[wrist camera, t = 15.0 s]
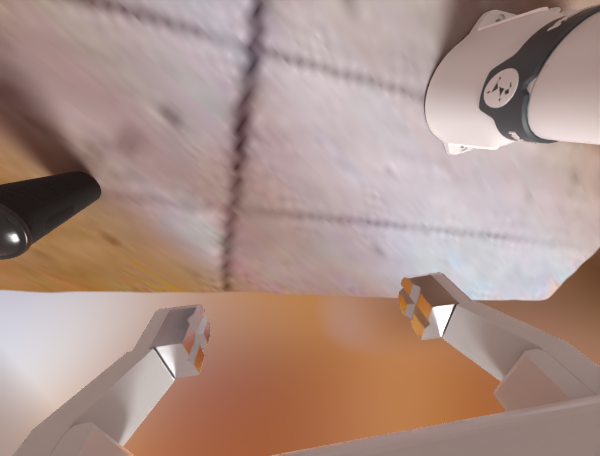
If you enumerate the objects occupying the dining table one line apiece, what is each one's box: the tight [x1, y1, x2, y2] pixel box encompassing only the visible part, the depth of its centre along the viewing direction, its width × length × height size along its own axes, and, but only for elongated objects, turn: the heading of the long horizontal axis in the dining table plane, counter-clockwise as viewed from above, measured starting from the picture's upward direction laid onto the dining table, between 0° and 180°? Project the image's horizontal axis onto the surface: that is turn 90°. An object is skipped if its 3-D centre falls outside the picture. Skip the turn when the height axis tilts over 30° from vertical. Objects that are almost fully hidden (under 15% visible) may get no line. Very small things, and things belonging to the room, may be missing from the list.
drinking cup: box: [0, 172, 101, 260], centre depth 24 cm, size 8×8×20 cm
